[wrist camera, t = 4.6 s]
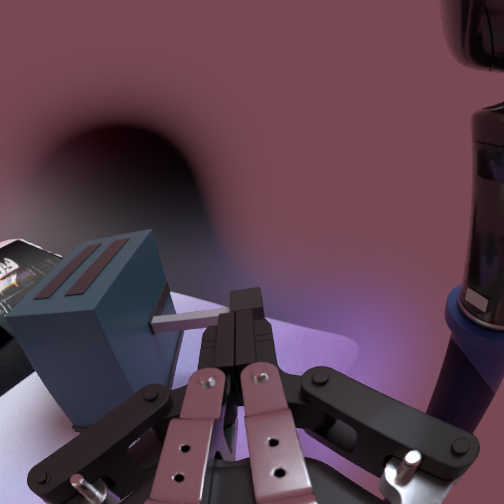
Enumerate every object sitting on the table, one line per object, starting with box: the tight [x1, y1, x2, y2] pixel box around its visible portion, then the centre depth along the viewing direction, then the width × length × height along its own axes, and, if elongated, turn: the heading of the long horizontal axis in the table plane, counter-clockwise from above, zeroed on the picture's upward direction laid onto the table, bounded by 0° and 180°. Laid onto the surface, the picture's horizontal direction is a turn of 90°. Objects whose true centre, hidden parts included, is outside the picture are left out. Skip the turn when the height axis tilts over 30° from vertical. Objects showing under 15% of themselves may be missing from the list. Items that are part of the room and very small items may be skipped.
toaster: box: [6, 229, 184, 437], centre depth 25 cm, size 8×14×12 cm, turn 2°
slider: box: [151, 287, 265, 333], centre depth 24 cm, size 9×3×3 cm, turn 92°
